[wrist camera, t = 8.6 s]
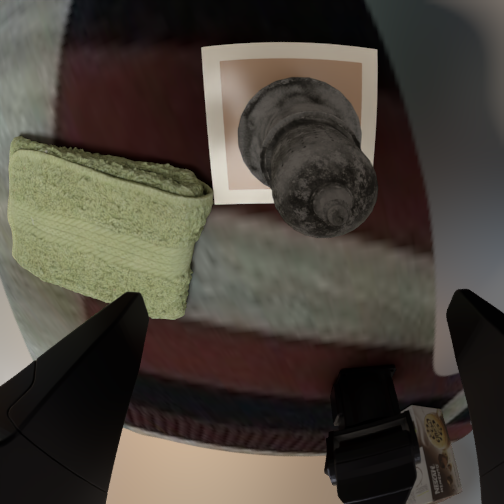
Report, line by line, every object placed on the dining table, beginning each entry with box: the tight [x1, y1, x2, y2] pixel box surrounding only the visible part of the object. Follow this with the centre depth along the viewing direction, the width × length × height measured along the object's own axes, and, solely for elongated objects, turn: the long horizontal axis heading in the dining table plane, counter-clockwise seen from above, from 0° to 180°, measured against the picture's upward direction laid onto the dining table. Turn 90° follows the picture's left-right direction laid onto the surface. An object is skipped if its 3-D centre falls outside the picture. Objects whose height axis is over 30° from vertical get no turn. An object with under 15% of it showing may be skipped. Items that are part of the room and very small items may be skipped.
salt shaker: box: [238, 77, 378, 238], centre depth 11 cm, size 6×6×12 cm
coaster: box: [201, 42, 378, 205], centre depth 17 cm, size 10×10×1 cm
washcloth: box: [7, 136, 213, 320], centre depth 20 cm, size 13×18×3 cm
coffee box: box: [401, 405, 462, 504], centre depth 30 cm, size 9×6×16 cm
